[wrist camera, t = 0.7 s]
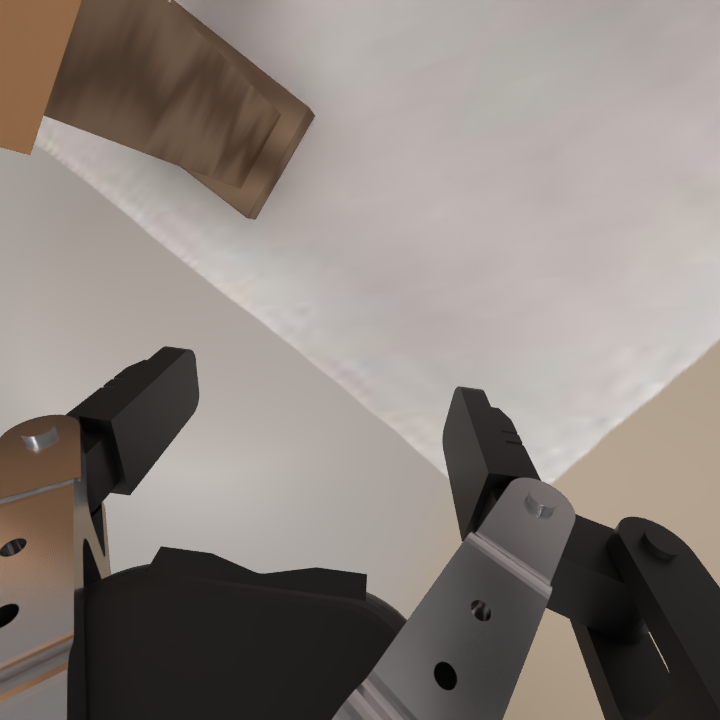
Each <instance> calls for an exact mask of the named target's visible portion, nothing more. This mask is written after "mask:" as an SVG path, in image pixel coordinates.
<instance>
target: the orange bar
mask: <svg viewBox="0 0 720 720" xmlns="http://www.w3.org/2000/svg"><path fill="white" fill-rule="evenodd" d="M81 1H82V0H0V147H1V148H5V149H9V150H13V151H16V152H20V153H24V154H28V155H30V154H31V151H32V148H33V145H34V142H35V139H36V136H37V133H38V130H39V127H40V124H41V121H42V118H43V115H44V112H45V109H46V106H47V103H48V100H49V97H50V94H51V91H52V88H53V85H54V82H55V79H56V76H57V73H58V70H59V67H60V64H61V61H62V58H63V55H64V52H65V49H66V46H67V43H68V40H69V37H70V34H71V31H72V28H73V25H74V22H75V19H76V16H77V13H78V10H79V7H80V4H81Z"/></svg>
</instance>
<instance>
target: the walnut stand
mask: <svg viewBox="0 0 720 720" xmlns="http://www.w3.org/2000/svg"><path fill="white" fill-rule="evenodd" d="M44 116H47V117H49V118H52V119H55V120H58V121H60V122H63V123H66V124H68V125H71V126H74V127H76V128H79V129H82V130H84V131H87V132H90V133H92V134H95V135H98V136H100V137H103V138H106V139H108V140H111V141H114V142H117V143H119V144H122V145H125V146H127V147H130V148H133V149H135V150H138V151H141V152H143V153H146V154H149V155H151V156H154V157H157V158H159V159H162V160H165V161H167V162H170V163H173V164H176V165H178V166H181V167H182V168H183V169H184V170H186V171H187V172H188V173H190V174H191V175H192V176H193V177H195V178H196V179H197V180H199V181H200V182H201V183H202V184H204V185H205V186H206V187H208V188H209V189H210V190H212V191H213V192H214V193H215V194H217V195H218V196H219V197H221V198H222V199H223V200H224V201H226V202H227V203H228V204H230V205H231V206H232V207H234V208H235V209H236V210H237V211H239V212H240V213H241V214H243V215H244V216H245V217H246V218H250V219H256V217H257V215H258V214H259V212H260V210H261V208H262V207H263V205H264V203H265V201H266V200H267V198H268V196H269V194H270V193H271V191H272V189H273V187H274V186H275V184H276V182H277V181H278V179H279V177H280V175H281V174H282V172H283V170H284V168H285V167H286V165H287V163H288V161H289V160H290V158H291V156H292V154H293V153H294V151H295V149H296V147H297V146H298V144H299V142H300V141H301V139H302V137H303V135H304V134H305V132H306V130H307V128H308V127H309V125H310V123H311V121H312V120H313V118H314V116H315V115H314V114H313V112H312V111H311V110H310V108H309V107H308V106H306V105H305V104H304V103H303V102H301V101H300V100H299V99H297V98H296V97H295V96H294V95H292V94H291V93H290V92H289V91H287V90H286V89H285V88H284V87H282V86H281V85H280V84H279V83H277V82H276V81H275V80H273V79H272V78H271V77H270V76H268V75H267V74H266V73H265V72H263V71H262V70H261V69H260V68H258V67H257V66H256V65H255V64H253V63H252V62H251V61H249V60H248V59H247V58H246V57H244V56H243V55H242V54H241V53H239V52H238V51H237V50H236V49H234V48H233V47H232V46H231V45H229V44H228V43H227V42H226V41H224V40H223V39H222V38H220V37H219V36H218V35H217V34H215V33H214V32H213V31H212V30H210V29H209V28H208V27H207V26H205V25H204V24H203V23H202V22H200V21H199V20H198V19H196V18H195V17H194V16H193V15H191V14H190V13H189V12H188V11H186V10H185V9H184V8H183V7H181V6H180V5H179V4H178V3H176V2H175V1H174V0H171V3H169V2H168V1H167V0H82V1H81V4H80V7H79V10H78V13H77V16H76V19H75V22H74V25H73V28H72V31H71V34H70V37H69V40H68V43H67V46H66V49H65V52H64V55H63V58H62V61H61V64H60V67H59V70H58V73H57V76H56V79H55V82H54V85H53V88H52V91H51V94H50V97H49V100H48V103H47V106H46V109H45V112H44Z"/></svg>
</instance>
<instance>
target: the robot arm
mask: <svg viewBox="0 0 720 720" xmlns="http://www.w3.org/2000/svg"><path fill="white" fill-rule="evenodd" d="M198 401H199V387H198V377H197V369H196V358H195V354H194V352H193V351H192V350H189V349H182V348H174V347H167V346H166V347H163V348H162V349H160V350H159V351H158V352H157V353H155V354H154V355H153V356H152V357H151V358H150V359H148V360H143V361H141V362H138V363H136V364H134V365H131V366H129V367H127V368H125V369H124V370H123V371H122V372H120V373H119V374H118V375H116V376H115V377H114V379H112V380H110V381H109V382H108V383H106V384H105V385H104V387H103V388H100V389H98V390H97V391H96V392H94V393H93V394H92V395H91V396H89V397H88V398H87V399H85V400H84V401H83V402H82V403H81V404H79V405H78V406H77V407H75V408H74V409H73V410H71V411H70V412H69V413H67V414H66V415H48V416H42V417H38V418H34V419H31V420H28V421H25V422H23V423H21V424H18V425H16V426H14V427H13V428H11V429H9V430H8V431H7V432H5V433H4V434H3V435H2V436H1V437H0V720H502V719H503V717H504V714H505V711H506V709H507V706H508V704H509V701H510V698H511V696H512V693H513V691H514V688H515V686H516V683H517V681H518V678H519V675H520V673H521V670H522V668H523V665H524V662H525V660H526V657H527V655H528V652H529V649H530V647H531V644H532V641H533V639H534V636H535V634H536V631H537V628H538V626H539V624H540V621H541V618H542V616H543V613H544V611H545V608H548V609H550V610H552V611H554V612H557V613H559V614H561V615H563V616H565V617H567V618H569V619H570V621H571V624H572V627H573V630H574V632H575V635H576V638H577V641H578V644H579V647H580V650H581V652H582V655H583V658H584V661H585V663H586V667H587V669H588V672H589V675H590V678H591V681H592V684H593V686H594V689H595V692H596V695H597V698H598V701H599V703H600V706H601V709H602V712H603V715H604V718H605V720H720V588H719V586H718V585H717V583H716V582H715V581H714V579H713V578H712V577H711V575H710V574H709V573H708V571H707V570H706V568H705V567H704V566H703V565H702V563H701V562H700V560H699V559H698V558H697V556H696V555H695V554H694V552H693V551H692V550H691V549H690V547H689V546H688V545H686V543H685V542H684V541H682V540H681V539H680V538H679V537H678V536H676V535H675V534H674V533H672V532H671V531H669V530H668V529H666V528H665V527H663V526H661V525H659V524H657V523H655V522H652V521H650V520H647V519H644V518H639V517H627V518H624V519H622V520H621V521H620V523H619V524H618V525H617V527H616V528H615V529H612V528H610V527H607V526H604V525H602V524H599V523H596V522H594V521H591V520H588V519H586V518H583V517H581V516H579V515H576V514H575V511H574V509H573V507H572V505H571V503H570V502H569V501H568V500H567V498H566V497H565V496H564V495H563V494H562V493H561V492H559V491H558V490H557V489H555V488H554V487H552V486H551V485H549V484H547V483H545V482H542V481H541V480H540V478H539V476H538V474H537V472H536V469H535V467H534V465H533V463H532V461H531V459H530V457H529V455H528V453H527V451H526V449H525V447H524V446H523V445H522V441H521V439H520V437H519V435H517V431H516V429H515V427H514V425H513V423H512V421H511V419H510V418H509V417H507V416H506V415H505V414H504V413H503V412H502V411H501V410H500V409H499V408H493V407H491V406H490V404H489V401H488V399H487V397H486V394H485V392H484V391H483V390H481V389H474V388H466V387H459V386H458V387H457V388H456V389H455V392H454V395H453V398H452V402H451V405H450V409H449V412H448V416H447V419H446V423H445V426H444V431H443V450H444V455H445V460H446V465H447V470H448V475H449V480H450V485H451V489H452V494H453V499H454V504H455V509H456V514H457V519H458V524H459V529H460V534H461V538H462V541H463V543H462V544H461V546H460V547H459V549H458V550H457V551H456V553H455V554H454V556H453V557H452V559H451V560H450V561H449V563H448V564H447V565H446V567H445V568H444V570H443V571H442V573H441V574H440V576H439V577H438V578H437V580H436V581H435V582H434V584H433V585H432V587H431V588H430V589H429V591H428V592H427V594H426V595H425V596H424V598H423V599H422V601H421V602H420V604H419V605H418V606H417V608H416V609H415V611H414V612H413V613H412V615H411V617H410V618H409V619H408V620H406V619H405V618H404V617H403V616H402V615H401V614H400V613H399V612H398V611H397V610H396V609H394V608H393V607H392V606H390V605H389V604H388V603H386V602H385V601H383V600H381V599H380V598H378V597H376V596H374V595H372V594H370V593H367V592H366V582H367V575H366V574H361V573H354V572H346V571H339V570H331V569H324V568H308V569H300V570H291V571H283V572H275V573H267V574H260V573H256V572H253V571H251V570H249V569H246V568H244V567H242V566H239V565H237V564H235V563H233V562H230V561H228V560H226V559H223V558H221V557H219V556H216V555H214V554H212V553H205V552H198V551H190V550H183V549H176V548H168V547H160V549H159V551H158V552H157V554H156V556H155V558H154V559H153V561H152V563H151V564H147V565H142V566H137V567H133V568H130V569H126V570H123V571H120V572H117V573H115V574H113V575H111V570H110V560H109V548H108V536H107V524H106V512H105V506H104V503H103V500H104V499H105V498H106V497H107V496H108V495H109V493H117V494H124V495H131V493H132V492H133V491H134V489H135V488H136V487H137V485H138V484H139V483H140V482H141V480H142V479H143V478H144V477H145V475H146V474H147V473H148V471H149V470H150V469H151V468H152V466H153V465H154V464H155V462H156V461H157V460H158V459H159V457H160V456H161V455H162V453H163V452H164V451H165V450H166V448H167V447H168V446H169V444H170V443H171V442H172V441H173V439H174V438H175V437H176V435H177V434H178V433H179V432H180V430H181V429H182V428H183V427H184V425H185V424H186V423H187V421H188V420H189V419H190V418H191V416H192V415H193V414H194V412H195V410H196V408H197V405H198ZM649 631H650V633H651V635H652V637H653V639H654V641H655V643H656V645H657V647H658V648H659V650H660V653H661V654H662V656H663V658H664V660H665V662H666V665H667V667H668V670H669V672H668V670H667V668H666V666H665V664H664V662H663V660H662V658H661V656H660V654H659V652H658V650H657V648H656V646H655V644H654V642H653V640H652V638H651V637H650V635H649V633H648V632H649ZM669 673H670V674H669Z"/></svg>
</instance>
